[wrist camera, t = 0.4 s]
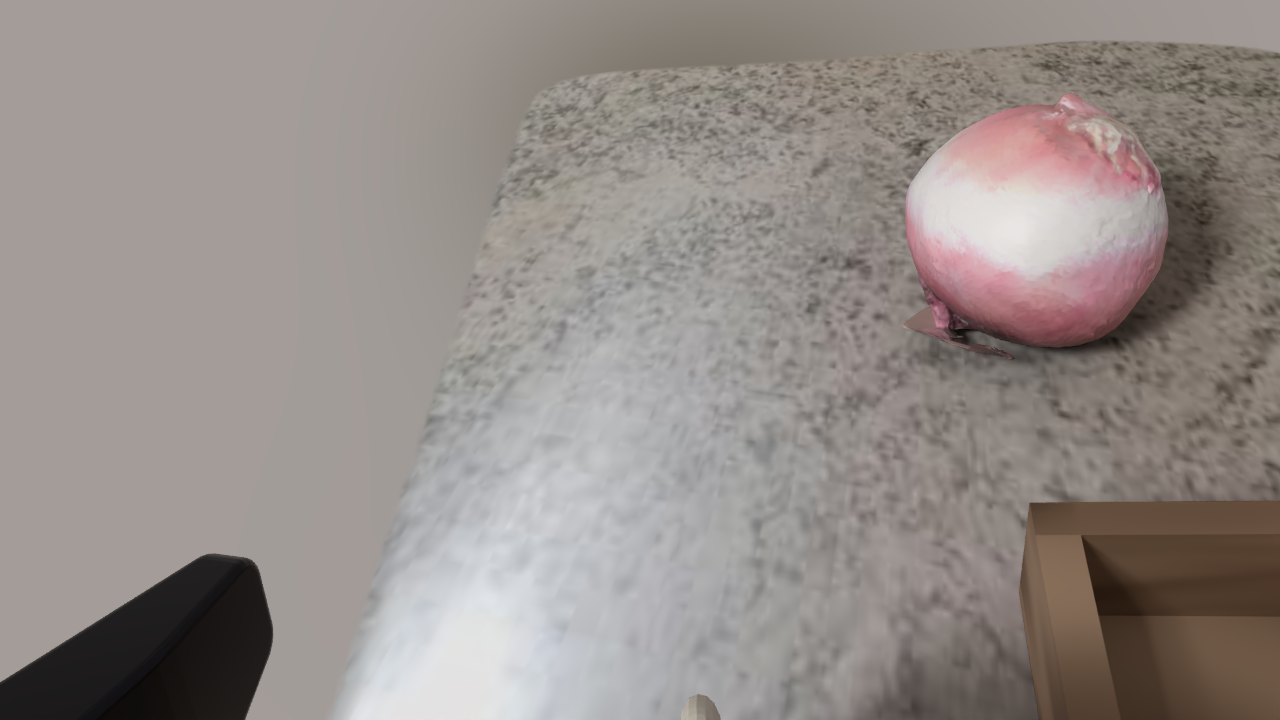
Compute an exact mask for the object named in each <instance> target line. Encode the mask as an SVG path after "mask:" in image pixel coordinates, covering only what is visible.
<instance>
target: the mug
mask: <svg viewBox="0 0 1280 720" xmlns="http://www.w3.org/2000/svg"><path fill="white" fill-rule="evenodd" d="M681 720H720V715H719V713H718V711H717V709H716V706H715V704H714V703H713V702H712V701H711V700H710V699H709V698H708V697H707V696H704V695H699V694H698V695H695V696H693V697H690V698H689V699H688V701H687V702H686V704H685V705H684V707H683V711H682V715H681Z"/></svg>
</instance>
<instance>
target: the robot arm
mask: <svg viewBox="0 0 1280 720" xmlns="http://www.w3.org/2000/svg"><path fill="white" fill-rule="evenodd" d="M272 642H273V625H272V620H271V617H270V612H269V608H268V604H267V600H266V596H265V592H264V588H263V584H262V580H261V576H260V572H259V569H258V567H257V565H256V564H255V563H254V562H253V561H252V560H250V559H248V558H244V557H236V556H229V555H221V554H206V555H204V556H201V557H199V558H197V559H196V560H194V561H192V562H191V563H189V564H188V565H186V566H184V567H183V568H181V569H180V570H178V571H177V572H175V573H173V574H172V575H170V576H169V577H167V578H165V579H164V580H162V581H161V582H159V583H157V584H156V585H154V586H153V587H151V588H150V589H148V590H146V591H145V592H143V593H142V594H140V595H138V596H137V597H135V598H134V599H132V600H130V601H129V602H127V603H126V604H124V605H123V606H121V607H119V608H118V609H116V610H114V611H113V612H111V613H110V614H108V615H107V616H105V617H103V618H102V619H100V620H99V621H97V622H95V623H94V624H92V625H91V626H89V627H87V628H86V629H84V630H83V631H81V632H79V633H78V634H77V635H75V636H73V637H72V638H70V639H68V640H67V641H65V642H64V643H62V644H60V645H59V646H57V647H56V648H54V649H52V650H51V651H50V652H48V653H46V654H45V655H43V656H41V657H40V658H38V659H37V660H35V661H33V662H32V663H30V664H29V665H27V666H25V667H24V668H22V669H21V670H20V671H18V672H16V673H15V674H13V675H11V676H10V677H8V678H6V679H5V680H3V681H2V682H0V720H245V719H246V716H247V713H248V711H249V708H250V706H251V703H252V700H253V698H254V695H255V692H256V690H257V687H258V684H259V681H260V679H261V676H262V674H263V671H264V668H265V666H266V663H267V660H268V658H269V655H270V651H271V647H272Z"/></svg>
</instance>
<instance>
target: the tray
mask: <svg viewBox="0 0 1280 720" xmlns="http://www.w3.org/2000/svg"><path fill="white" fill-rule="evenodd" d="M1019 596H1020V602H1021V608H1022V614H1023V621H1024V627H1025V633H1026V639H1027V646H1028V652H1029V658H1030V664H1031V671H1032V677H1033V683H1034V689H1035V696H1036V702H1037V708H1038V714H1039V720H1280V501H1184V502H1064V503H1030V504H1029V513H1028V521H1027V529H1026V538H1025V546H1024V555H1023V563H1022V572H1021V580H1020V589H1019Z"/></svg>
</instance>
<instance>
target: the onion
mask: <svg viewBox="0 0 1280 720" xmlns="http://www.w3.org/2000/svg"><path fill="white" fill-rule="evenodd" d="M1168 223H1169V218H1168V214H1167V207H1166V203H1165V197H1164V193H1163V189H1162V185H1161V175H1160V173H1159V170H1158V169H1157V167H1156V166H1155V164H1154V162H1153V160H1152V159H1151V158H1150V156H1149V154H1148V153H1147V151H1146V149H1145V146H1144V144H1143V142H1142V141H1141V138H1140V137H1139V136H1138V135H1137V134H1136V133H1135V132H1134V131H1133V130H1132V129H1131V128H1129V127H1128V126H1127V125H1125V124H1123V123H1121V122H1119V121H1118V120H1116V119H1115V118H1113V117H1112V116H1111V115H1109V114H1107V113H1106V112H1104V111H1103V110H1101V109H1100V108H1098V107H1097V106H1095V105H1094V104H1092V103H1090V102H1087V101H1085V100H1084V99H1082V98H1081V97H1079V96H1078V95H1075V94H1071V93H1068V94H1066V95H1064V96H1063V97H1061V99H1060V100H1059V101H1058V102H1057V103H1056V104H1055V105H1053V106H1052V105H1028V106H1022V107H1017V108H1013V109H1009V110H1005V111H1002V112H999V113H996V114H993V115H991V116H989V117H987V118H985V119H983V120H981V121H979V122H977V123H975V124H973V125H971V126H969V127H967V128H966V129H964V130H962V131H961V132H959V133H958V134H956V135H955V136H954V137H952V138H951V139H950V140H949V141H948V142H947V143H945V144H944V145H943V146H942V147H941V148H940V149H939V150H937V151H936V152H935V153H934V154H933V155H932V156H931V157H930V158H929V160H928V161H927V162H926V163H925V164H924V166H923V167H922V168H921V170H920V171H919V173H918V174H917V175H916V177H915V178H914V179H913V181H912V182H911V184H910V186H909V189H908V193H907V198H906V235H907V240H908V244H909V248H910V251H911V254H912V257H913V260H914V263H915V266H916V269H917V271H918V275H919V281H920V284H921V286H922V288H923V290H924V293H925V297H926V300H927V303H928V305H929V307H928V308H926V309H924V310H923V311H921V312H920V313H918V314H916V315H915V316H913V317H912V318H910V319H909V320H907V321H906V322H905V323H904V324H903V328H906V329H910V330H914V331H918V332H922V333H925V334H927V335H930V336H932V337H935V338H937V339H940V340H942V341H944V342H947V343H949V344H951V345H954V346H958V347H963V348H967V350H969V351H975V352H980V353H986V354H992V355H999V356H1005V357H1007V358H1008V359H1015V358H1013V357H1011V356H1010V355H1009V354H1008V353H1005V352H1003V350H998V349H996V348H995V347H989V346H985V345H980V344H973V345H972V346H968V345H965V344H961V343H957V342H954V341H950V340H952V338H957V337H963V336H958V335H957V333H956V332H955V331H954V329H976V330H980V331H981V332H983V333H986V334H987V335H990V336H993V337H995V338H998V339H1000V340H1005V341H1010V342H1012V343H1017V344H1022V345H1030V346H1033V347H1056V348H1059V347H1065V346H1068V347H1072V346H1077V345H1082V344H1084V343H1088V342H1092V341H1095V340H1098V339H1099V338H1101V337H1103V336H1106V335H1107V334H1108V333H1109V332H1111V331H1113V330H1115V329H1116V328H1117V326H1119V325H1120V323H1121V322H1122V321H1123V320H1124V319H1125V318H1126V317H1127V315H1128V314H1129V312H1130V311H1131V310H1132V309H1133V307H1134V306H1135V305H1136V304H1137V302H1138V301H1139V300H1140V298H1141V297H1142V295H1143V294H1144V293H1145V292H1146V290H1147V289H1148V288H1149V285H1150V284H1151V282H1152V281H1153V280H1154V278H1155V277H1156V275H1157V273H1158V272H1159V270H1160V268H1161V264H1162V261H1163V255H1164V250H1165V245H1166V240H1167V237H1168Z"/></svg>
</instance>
